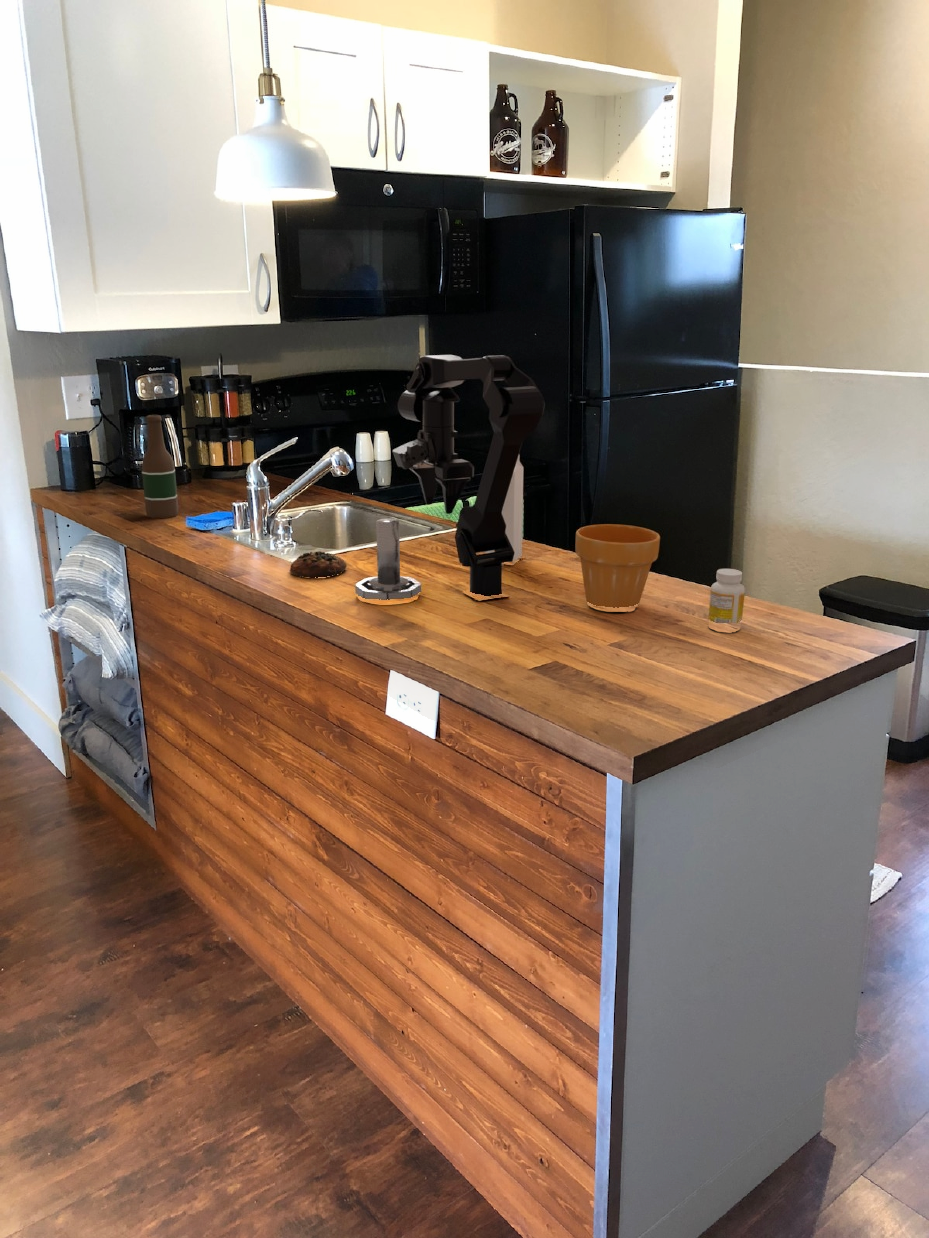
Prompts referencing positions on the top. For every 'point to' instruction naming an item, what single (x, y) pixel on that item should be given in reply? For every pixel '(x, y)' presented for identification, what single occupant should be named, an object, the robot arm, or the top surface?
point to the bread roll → (317, 565)
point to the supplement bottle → (727, 597)
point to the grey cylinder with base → (388, 558)
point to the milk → (514, 511)
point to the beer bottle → (158, 474)
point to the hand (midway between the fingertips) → (438, 508)
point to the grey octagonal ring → (400, 594)
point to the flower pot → (615, 562)
